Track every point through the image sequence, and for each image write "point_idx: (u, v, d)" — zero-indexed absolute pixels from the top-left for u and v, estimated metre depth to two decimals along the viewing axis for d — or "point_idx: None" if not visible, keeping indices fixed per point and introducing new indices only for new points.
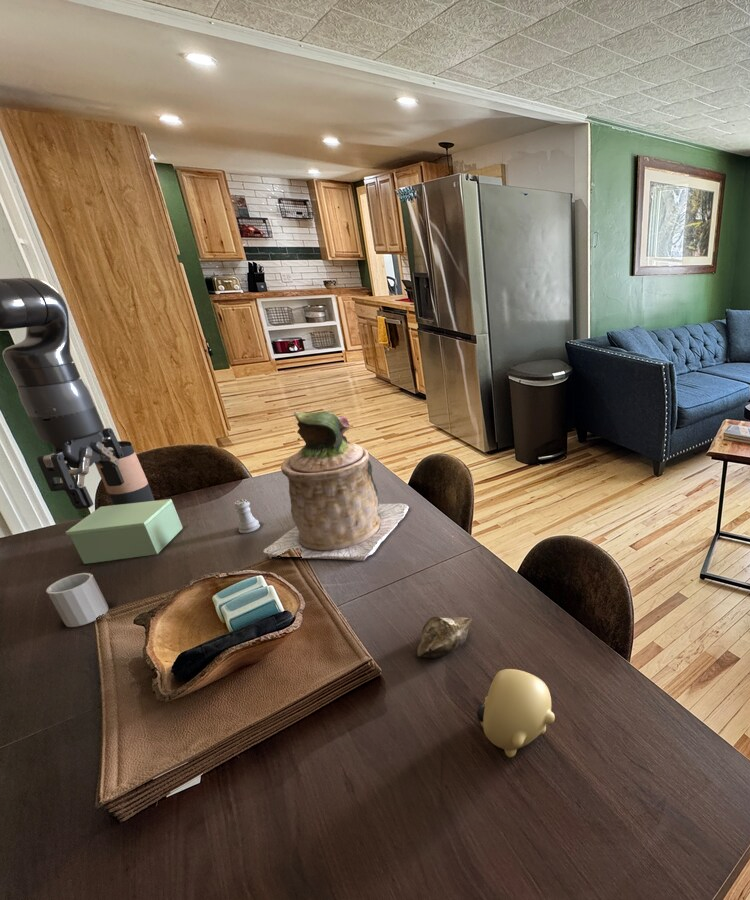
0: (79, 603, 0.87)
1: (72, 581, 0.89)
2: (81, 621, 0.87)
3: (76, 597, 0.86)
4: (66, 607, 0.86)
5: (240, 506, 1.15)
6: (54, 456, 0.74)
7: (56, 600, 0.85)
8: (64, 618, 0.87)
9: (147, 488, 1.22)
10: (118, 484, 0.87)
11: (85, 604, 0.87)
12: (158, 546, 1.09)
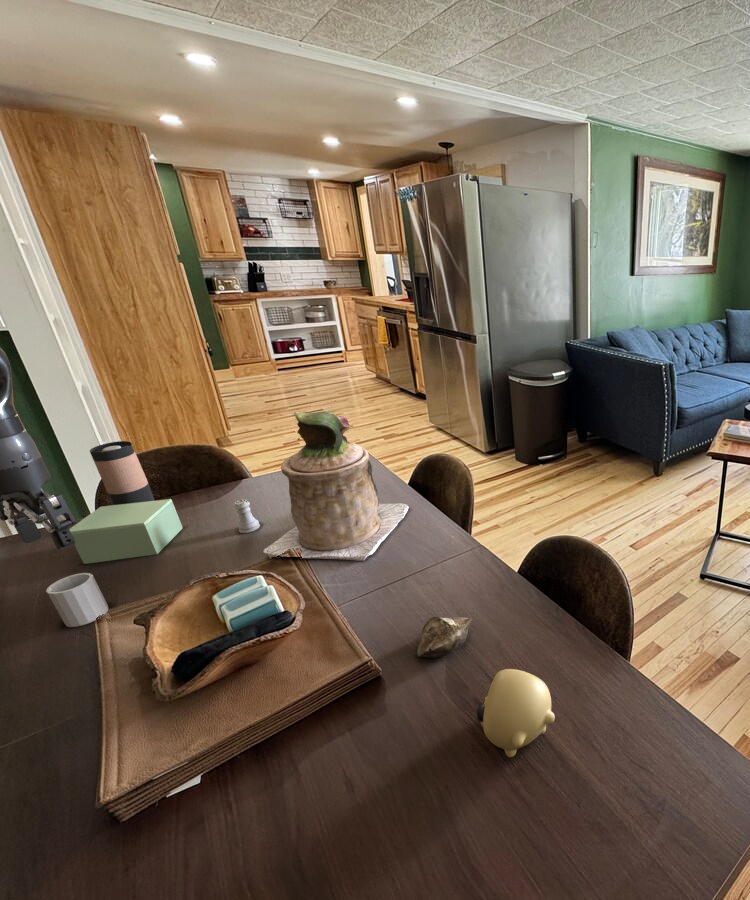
0: (79, 603, 0.87)
1: (72, 581, 0.89)
2: (81, 621, 0.87)
3: (76, 597, 0.86)
4: (66, 607, 0.86)
5: (240, 506, 1.15)
6: (57, 494, 0.79)
7: (56, 600, 0.85)
8: (64, 618, 0.87)
9: (147, 488, 1.22)
10: (37, 538, 0.85)
11: (85, 604, 0.87)
12: (158, 546, 1.09)
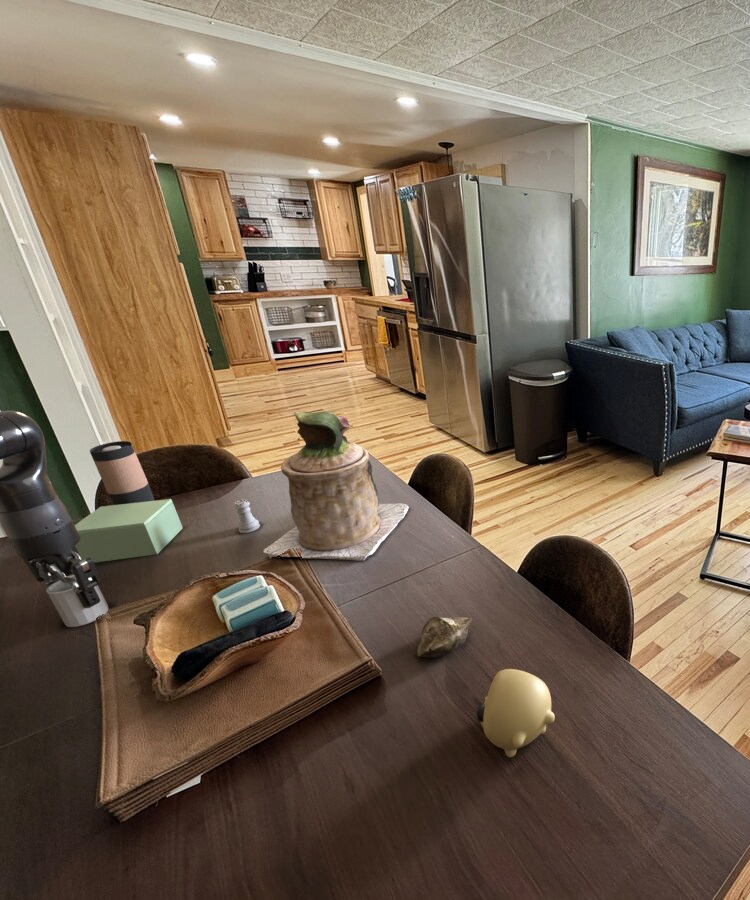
0: (79, 603, 0.87)
1: None
2: (81, 621, 0.87)
3: (76, 597, 0.86)
4: (66, 607, 0.86)
5: (240, 506, 1.15)
6: (89, 559, 0.84)
7: (56, 600, 0.85)
8: (64, 618, 0.87)
9: (147, 488, 1.22)
10: None
11: None
12: (158, 546, 1.09)
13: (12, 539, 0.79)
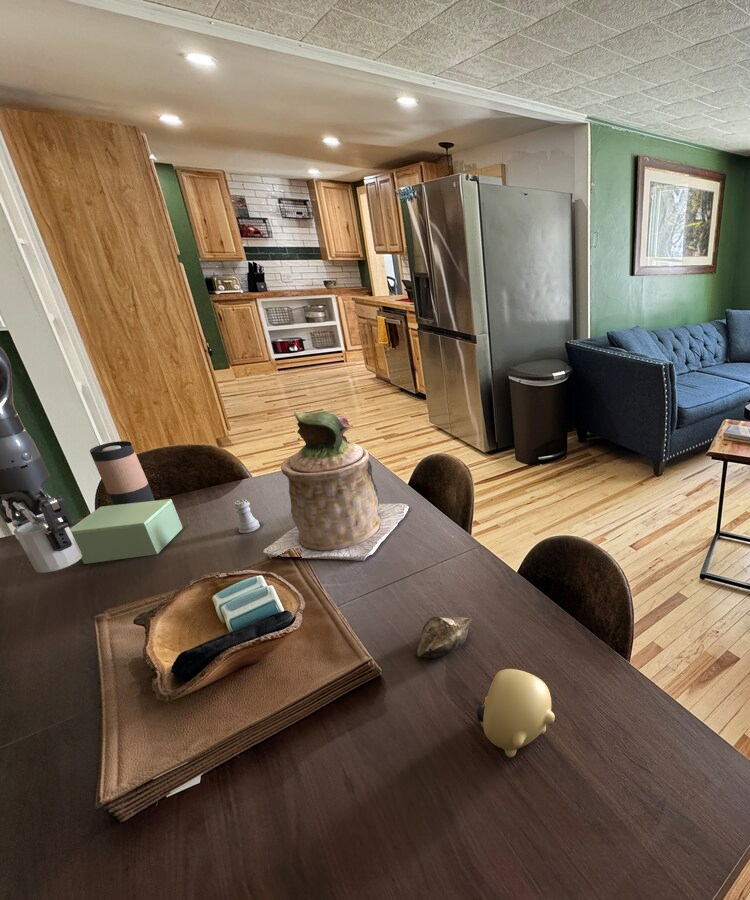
0: (49, 546, 0.82)
1: None
2: (51, 565, 0.83)
3: (46, 539, 0.81)
4: (34, 549, 0.81)
5: (240, 506, 1.15)
6: (59, 498, 0.79)
7: (24, 541, 0.80)
8: (33, 561, 0.82)
9: (147, 488, 1.22)
10: None
11: None
12: (158, 546, 1.09)
13: None
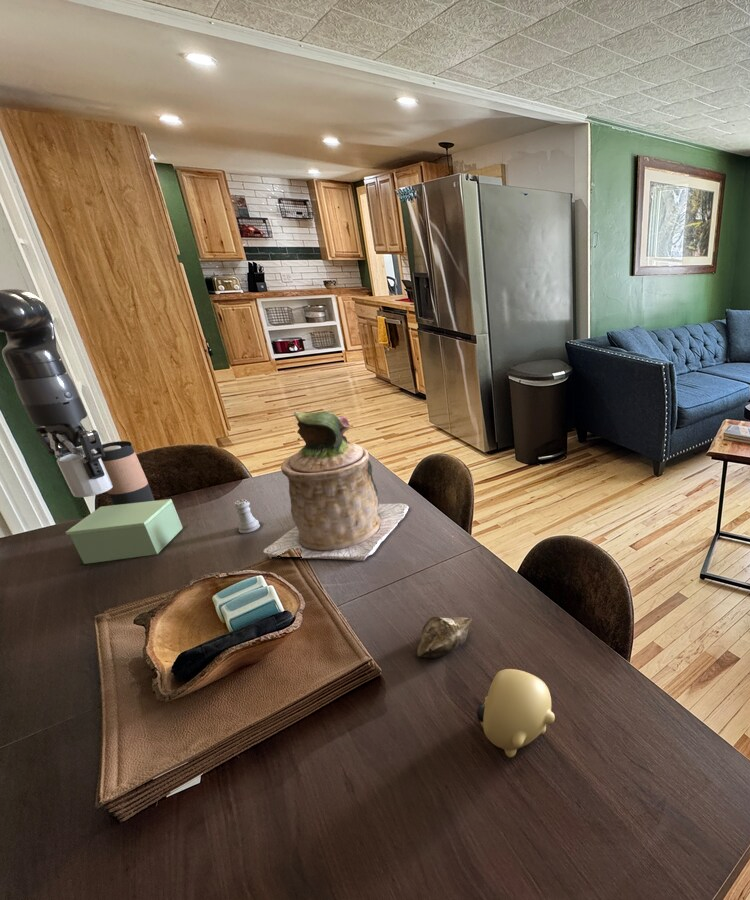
0: (85, 474, 0.96)
1: None
2: (87, 491, 0.97)
3: (83, 468, 0.95)
4: (73, 476, 0.95)
5: (240, 506, 1.15)
6: (94, 431, 0.94)
7: (65, 469, 0.94)
8: (72, 487, 0.96)
9: (147, 488, 1.22)
10: None
11: None
12: (158, 546, 1.09)
13: (27, 405, 0.89)
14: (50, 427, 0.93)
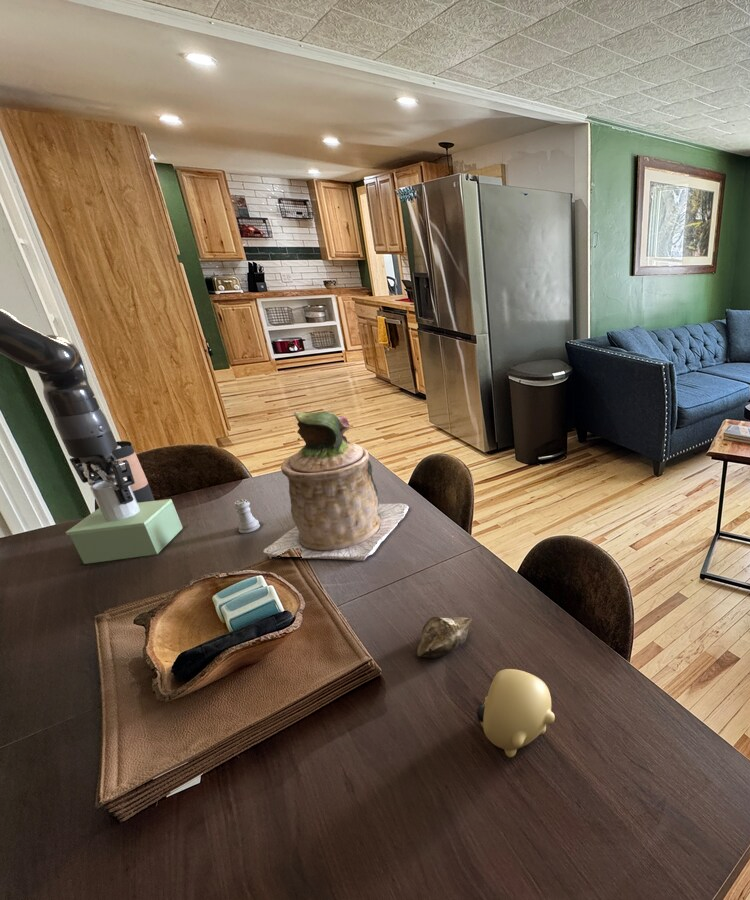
0: (117, 499, 1.05)
1: (110, 484, 1.07)
2: (118, 515, 1.06)
3: (114, 494, 1.04)
4: (106, 502, 1.04)
5: (240, 506, 1.15)
6: (125, 461, 1.03)
7: (98, 495, 1.03)
8: (104, 512, 1.05)
9: (147, 488, 1.22)
10: None
11: None
12: (158, 546, 1.09)
13: (65, 439, 0.97)
14: (84, 458, 1.02)
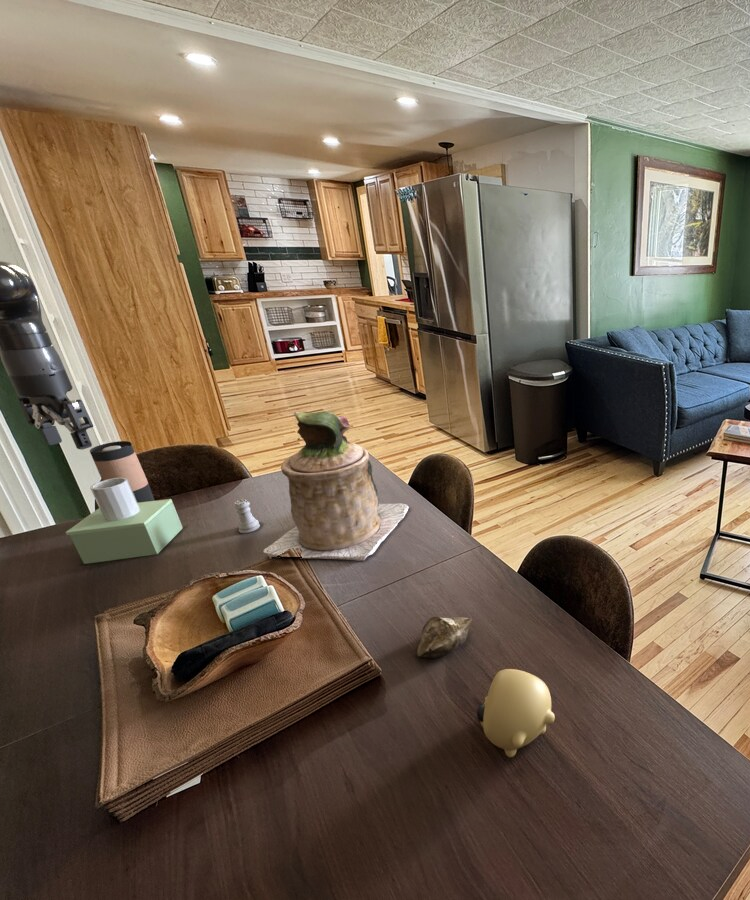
0: (117, 499, 1.05)
1: (110, 484, 1.07)
2: (118, 515, 1.06)
3: (114, 494, 1.04)
4: (106, 502, 1.04)
5: (240, 506, 1.15)
6: (78, 400, 0.95)
7: (98, 495, 1.03)
8: (104, 512, 1.05)
9: (147, 488, 1.22)
10: (58, 442, 1.00)
11: (121, 501, 1.06)
12: (158, 546, 1.09)
13: (12, 376, 0.90)
14: (35, 399, 0.95)
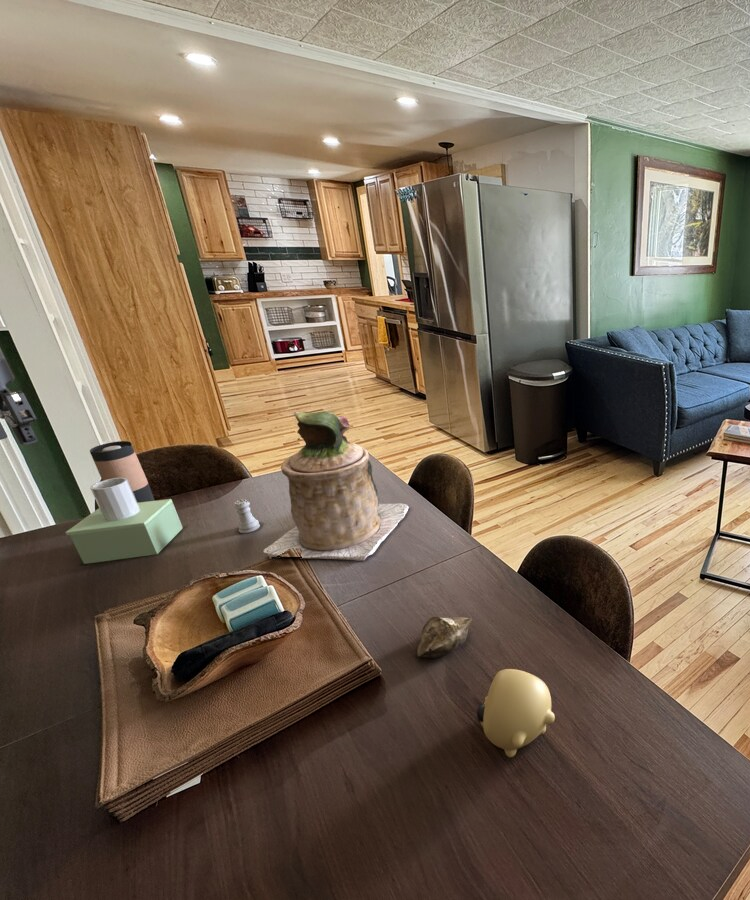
0: (117, 499, 1.05)
1: (110, 484, 1.07)
2: (118, 515, 1.06)
3: (114, 494, 1.04)
4: (106, 502, 1.04)
5: (240, 506, 1.15)
6: (19, 392, 0.88)
7: (98, 495, 1.03)
8: (104, 512, 1.05)
9: (147, 488, 1.22)
10: (3, 437, 0.94)
11: (121, 501, 1.06)
12: (158, 546, 1.09)
13: None
14: None
